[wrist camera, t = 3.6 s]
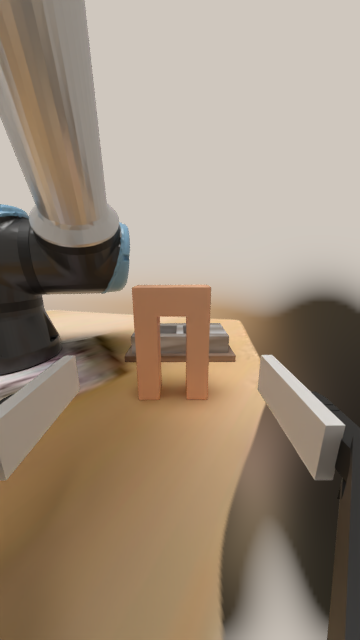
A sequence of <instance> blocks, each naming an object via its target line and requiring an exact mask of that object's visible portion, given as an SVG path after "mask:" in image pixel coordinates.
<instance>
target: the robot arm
mask: <svg viewBox="0 0 360 640" xmlns="http://www.w3.org/2000/svg"><path fill="white" fill-rule="evenodd" d="M0 117H1V120H2V122H3V125H4V127H5V130H6V132H7V135H8V137H9V140H10V142H11V144H12V147H13V149H14V152H15V154H16V157H17V159H18V162H19V164H20V167H21V169H22V172H23V174H24V177H25V179H26V182H27V184H28V187H29V189H30V192H31V194H32V197H33V199H34V202H35V204H36V205H35V206H34V207H33V209H32V210H31V212H30V215H29V216H28V215H27V213H26V212H25V211H23V210H22V209H19V208H16V207H13V206H8V205H1V204H0V375H1V374H6V373H10V372H14V371H18V370H22V369H25V368H28V367H31V366H34V365H37V364H39V363H42V362H44V361H46V360H48V359H50V358H52V357H53V356H55V355H56V354H58V353H59V352H60V350H61V348H62V346H61V340H60V336H59V334H58V332H57V330H56V329H55V327H54V325H53V323H52V322H51V320H50V318H49V316H48V315H47V313H46V311H45V309H44V305H43V300H42V294H81V293H82V294H83V293H102V294H103V293H106V292H115V291H120V290H122V289H123V288H124V287H125V285H126V283H127V278H128V271H129V252H130V239H129V231H128V228H127V226H126V225H125V224H122V223H120V222H119V218H118V215H117V213H116V211H115V210H114V209H113V208H112V207H111V206H110V205H108V204H107V202H106V193H105V184H104V175H103V165H102V157H101V147H100V139H99V129H98V120H97V111H96V102H95V92H94V83H93V74H92V65H91V56H90V47H89V38H88V29H87V20H86V10H85V1H84V0H0ZM79 391H80V386H79V379H78V372H77V365H76V358H75V356H63V357H62V358H61V359H59V360H58V361H57V362H55V363H54V364H53V365H51V366H50V367H49V368H48V369H46V370H45V371H44V372H42V373H41V374H40V375H38V376H37V377H36V378H34V379H33V380H32V381H30V382H29V383H28V384H27V385H25V386H24V387H23V388H21V389H20V390H19V391H17V392H16V393H14V394H12V395H10V396H8V397H6V398H4V399H2V400H1V401H0V480H7V479H8V478H9V477H10V475H11V474H12V473H13V472H14V470H15V469H16V468H17V467H18V466H19V464H20V463H21V462H22V461H23V459H24V458H25V457H26V456H27V455H28V453H29V452H30V451H31V450H32V448H33V447H34V446H35V445H36V444H37V442H38V441H39V440H40V439H41V437H42V436H43V435H44V434H45V432H46V431H47V430H48V429H49V428H50V426H51V425H52V424H53V423H54V421H55V420H56V419H57V418H58V417H59V415H60V414H61V413H62V412H63V410H64V409H65V408H66V407H67V406H68V404H69V403H70V402H71V401H72V399H73V398H74V397H75V396H76V394H77V393H78V392H79ZM258 391H259V393H260V394H261V396H262V397H263V399H264V401H265V402H266V404H267V405H268V407H269V408H270V410H271V412H272V413H273V415H274V416H275V418H276V420H277V421H278V423H279V424H280V426H281V428H282V429H283V430H284V432H285V434H286V435H287V437H288V439H289V440H290V442H291V443H292V445H293V447H294V448H295V450H296V451H297V453H298V454H299V456H300V458H301V459H302V461H303V462H304V464H305V466H306V467H307V469H308V470H309V472H310V473H311V475H312V477H313V478H314V480H333V476H334V472H335V468H336V470H337V471H338V472H339V474H340V475H341V476H342V482H341V486H340V490H339V494H338V499H340V501H339V512H338V524H337V535H336V546H335V558H334V569H333V580H332V592H331V603H330V614H329V626H328V638H327V640H360V428H359V427H358V426H357V425H356V424H355V423H354V422H352V421H351V420H350V419H349V418H348V417H347V416H346V415H345V414H343V412H341V411H340V410H339V409H338V408H337V407H336V406H334V405H333V404H332V403H331V402H330V401H329V400H328V399H327V398H326V397H324V396H322V395H320V394H319V393H317V392H310V391H309V390H308V389H307V388H306V387H305V386H304V385H303V384H302V383H301V382H300V381H299V380H297V379H296V378H295V377H294V376H293V375H292V374H291V373H290V372H289V371H288V370H287V369H286V368H285V367H284V366H283V365H282V364H281V363H280V362H279V361H278V360H277V359H276V358H275V357H274V356H273V355H261V361H260V371H259V381H258Z"/></svg>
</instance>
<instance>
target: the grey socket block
mask: <svg viewBox="0 0 360 640" xmlns="http://www.w3.org/2000/svg"><path fill="white" fill-rule="evenodd" d="M228 343H229V336H228V334H227V333H226V331H225V330H224V329H223V327H222V326H221V324H220V323H210V334H209V362H224V361H235V354H234V353H233V351H232V349H231V348H230V346H229V345H228ZM131 344H132V345H131V347H130V348H129V350H128V352H127V353H126V355H125V362H137V361H136V345H135V332H134V333H133V335H132V336H131ZM160 346H161V362H186V323H167V324H160Z"/></svg>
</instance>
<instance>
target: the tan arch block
mask: <svg viewBox="0 0 360 640" xmlns="http://www.w3.org/2000/svg"><path fill="white" fill-rule="evenodd" d="M132 295H133V296H132V297H133V313H134V329H135V345H136V361H137V377H138V393H139V400H159V399H160V393H161V386H162V380H161V346H160V316H186V394H187V399H207V394H208V364H209V334H210V304H211V287H210V286H208V285H137V286H135V287H133V288H132Z"/></svg>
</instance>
